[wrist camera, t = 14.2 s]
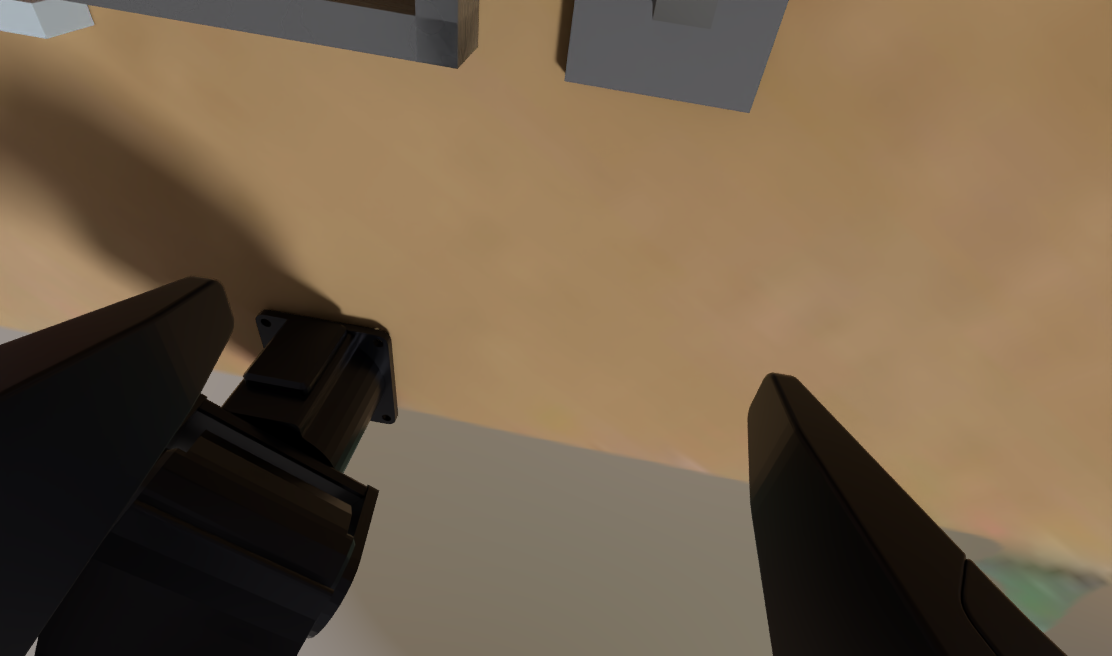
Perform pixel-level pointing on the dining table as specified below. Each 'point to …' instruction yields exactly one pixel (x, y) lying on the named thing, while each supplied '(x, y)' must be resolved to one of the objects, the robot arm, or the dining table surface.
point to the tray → (43, 17)
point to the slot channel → (336, 23)
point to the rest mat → (674, 51)
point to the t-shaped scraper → (685, 12)
